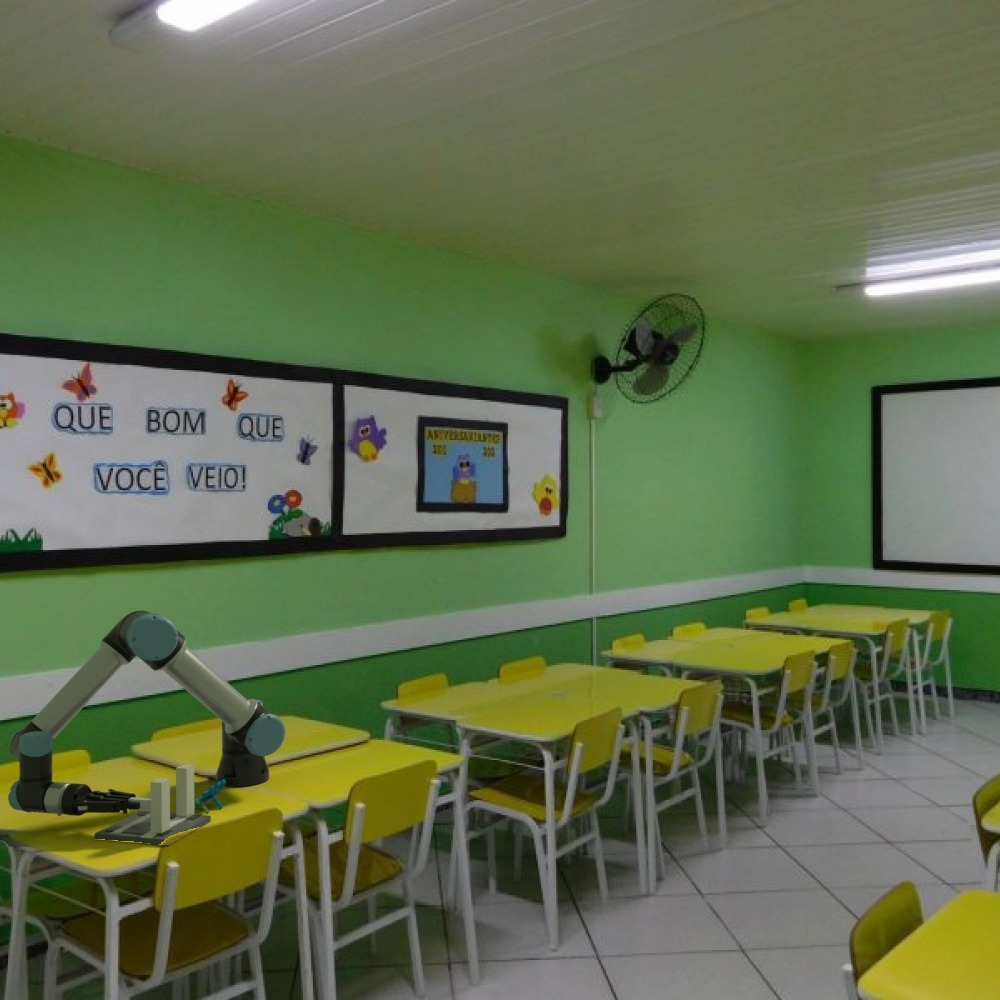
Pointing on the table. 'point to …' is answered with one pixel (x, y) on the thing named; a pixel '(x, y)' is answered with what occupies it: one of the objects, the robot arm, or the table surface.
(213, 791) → the blue green branched piece
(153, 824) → the tab
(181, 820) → the two post plate
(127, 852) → the table surface
